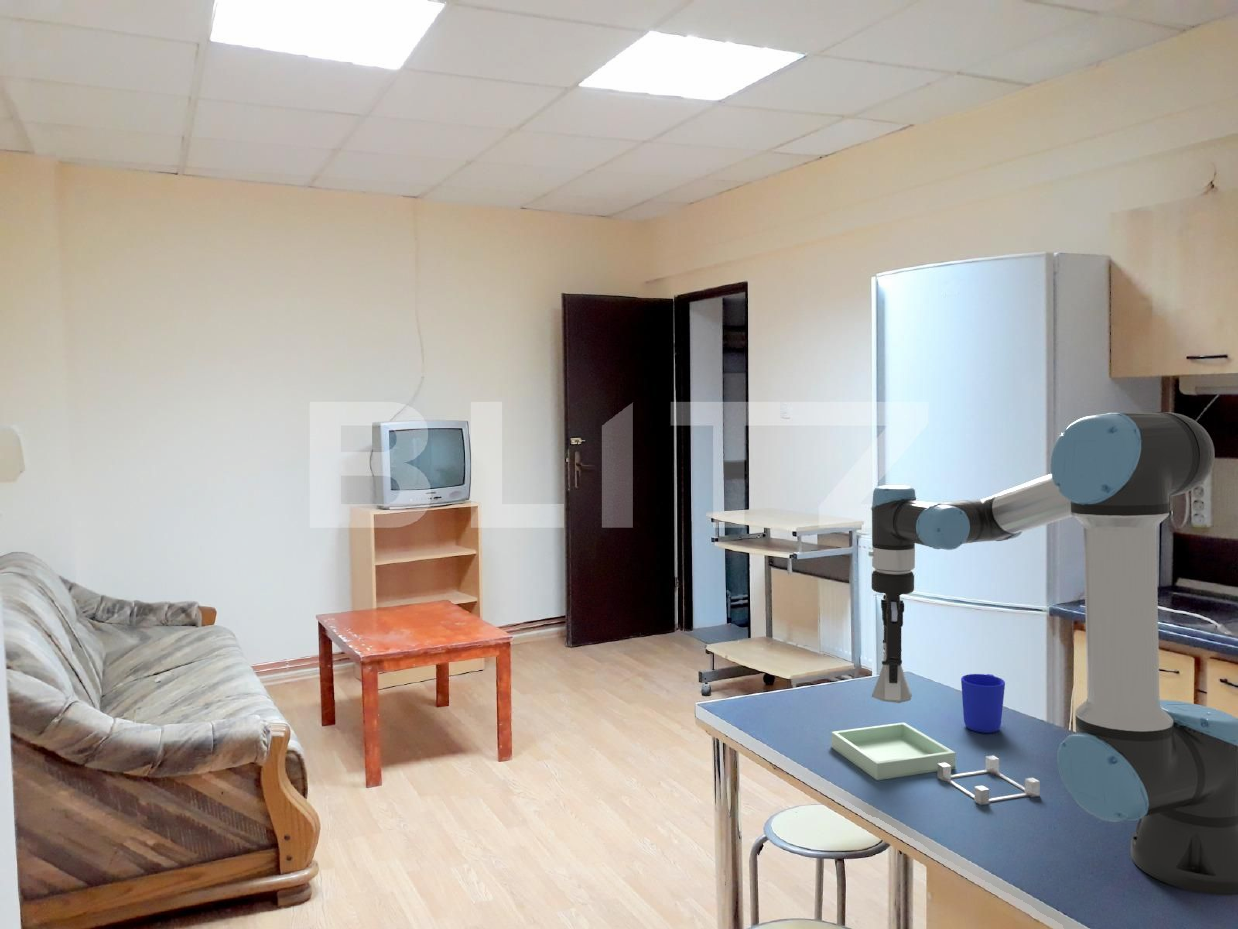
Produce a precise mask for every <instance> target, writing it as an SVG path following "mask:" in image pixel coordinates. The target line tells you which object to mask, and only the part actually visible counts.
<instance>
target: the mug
mask: <svg viewBox="0 0 1238 929" xmlns="http://www.w3.org/2000/svg"><path fill="white" fill-rule="evenodd" d="M960 678H961V679H960V683H961V684H960V685H961V696H962V698H961V699H962V712H963V713H962V715H963V722H964V725H965V727H967V729H969V730H972V731H974V732H978V733H983V734H984V733H985V734H987V733H988V734H990V733H991V734H992V733H996V732H998V731H999V730H1000V728H1001V725H1002V719H1003V718H1002V716H1003V707H1004V700H1005V698H1004V697H1005V686H1006V681H1005V680H1003V679H1002V678H1001V677H998V676H996V675H995V676H994V674H989V673H987V674H986V673H985V674H983V673H970V674H966V675H965V674H964V675H963V676H961V677H960Z"/></svg>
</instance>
